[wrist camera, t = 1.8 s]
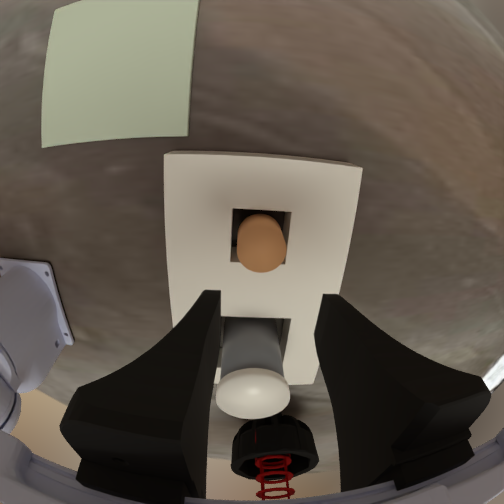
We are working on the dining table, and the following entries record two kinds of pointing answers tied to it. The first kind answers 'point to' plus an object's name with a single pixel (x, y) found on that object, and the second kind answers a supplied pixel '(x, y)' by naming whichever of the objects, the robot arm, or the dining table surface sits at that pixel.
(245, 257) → the plunger
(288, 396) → the cylinder
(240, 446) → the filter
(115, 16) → the mat
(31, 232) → the dining table surface
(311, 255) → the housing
